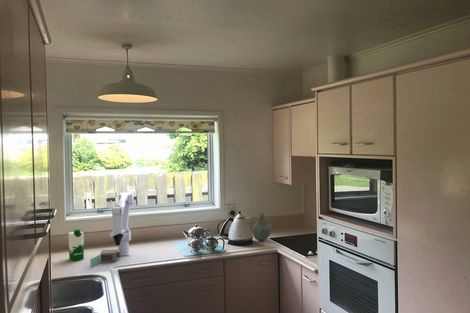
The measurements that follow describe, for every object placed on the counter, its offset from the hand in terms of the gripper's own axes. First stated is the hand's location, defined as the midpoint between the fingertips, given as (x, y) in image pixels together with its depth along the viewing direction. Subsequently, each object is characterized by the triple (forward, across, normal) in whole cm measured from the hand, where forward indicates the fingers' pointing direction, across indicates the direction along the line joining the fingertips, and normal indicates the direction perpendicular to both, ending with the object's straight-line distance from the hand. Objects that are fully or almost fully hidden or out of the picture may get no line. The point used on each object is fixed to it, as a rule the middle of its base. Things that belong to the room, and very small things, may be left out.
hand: (117, 245), depth 249 cm
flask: (+10, -80, +77) cm, 112 cm away
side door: (+10, +11, -9) cm, 18 cm away
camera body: (+10, 0, -6) cm, 12 cm away
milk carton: (+10, +6, -29) cm, 31 cm away
